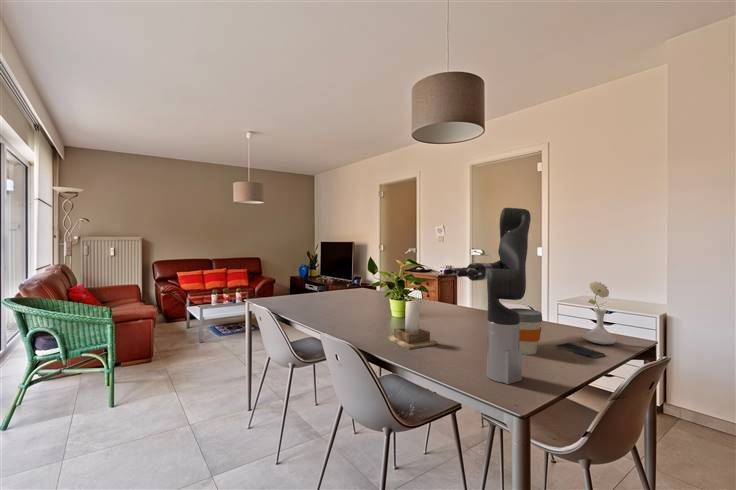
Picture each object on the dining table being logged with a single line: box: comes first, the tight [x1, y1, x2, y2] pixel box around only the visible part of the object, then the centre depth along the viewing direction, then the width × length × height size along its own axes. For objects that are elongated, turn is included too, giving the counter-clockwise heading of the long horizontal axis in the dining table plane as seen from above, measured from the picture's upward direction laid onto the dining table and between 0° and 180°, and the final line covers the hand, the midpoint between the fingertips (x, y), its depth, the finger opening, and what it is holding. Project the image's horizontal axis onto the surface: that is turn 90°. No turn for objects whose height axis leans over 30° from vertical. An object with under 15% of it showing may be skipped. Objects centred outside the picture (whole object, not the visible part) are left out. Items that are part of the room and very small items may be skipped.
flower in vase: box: [583, 280, 617, 345], centre depth 149 cm, size 13×11×25 cm
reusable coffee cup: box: [510, 307, 543, 356], centre depth 137 cm, size 12×13×15 cm
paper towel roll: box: [404, 300, 420, 334], centre depth 148 cm, size 6×6×15 cm
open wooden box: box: [386, 327, 439, 350], centre depth 148 cm, size 16×14×4 cm
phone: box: [556, 342, 606, 359], centre depth 137 cm, size 8×1×15 cm
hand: (451, 273), depth 149 cm, fingers open, 8 cm apart
